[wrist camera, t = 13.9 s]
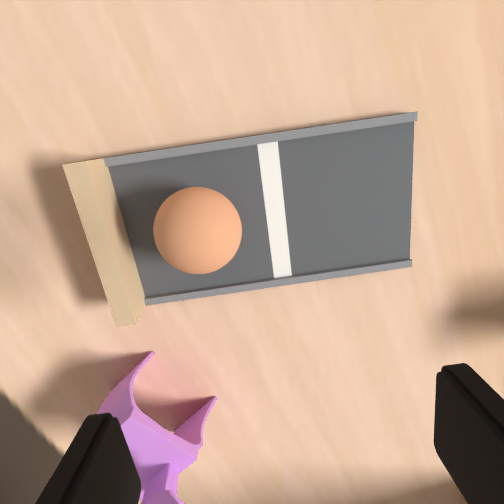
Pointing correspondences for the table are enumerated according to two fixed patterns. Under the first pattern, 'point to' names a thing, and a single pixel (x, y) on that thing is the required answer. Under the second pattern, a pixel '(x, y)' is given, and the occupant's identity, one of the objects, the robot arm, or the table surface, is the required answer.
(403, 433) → the table surface
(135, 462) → the toy chair
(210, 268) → the ball
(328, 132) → the lane
